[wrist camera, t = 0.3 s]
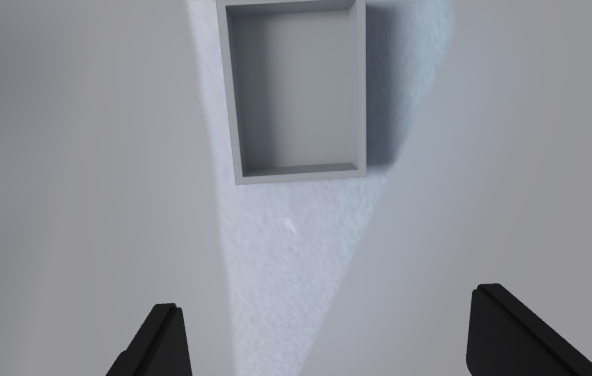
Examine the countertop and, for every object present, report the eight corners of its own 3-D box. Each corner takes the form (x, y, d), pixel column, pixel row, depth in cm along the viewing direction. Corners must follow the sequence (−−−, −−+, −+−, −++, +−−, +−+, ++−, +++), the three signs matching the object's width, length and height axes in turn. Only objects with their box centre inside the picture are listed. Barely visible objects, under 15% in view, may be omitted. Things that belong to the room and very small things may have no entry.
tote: (224, 10, 35) (215, -4, 30) (354, 3, 35) (365, -13, 31) (241, 174, 40) (235, 185, 35) (356, 167, 40) (366, 176, 35)
